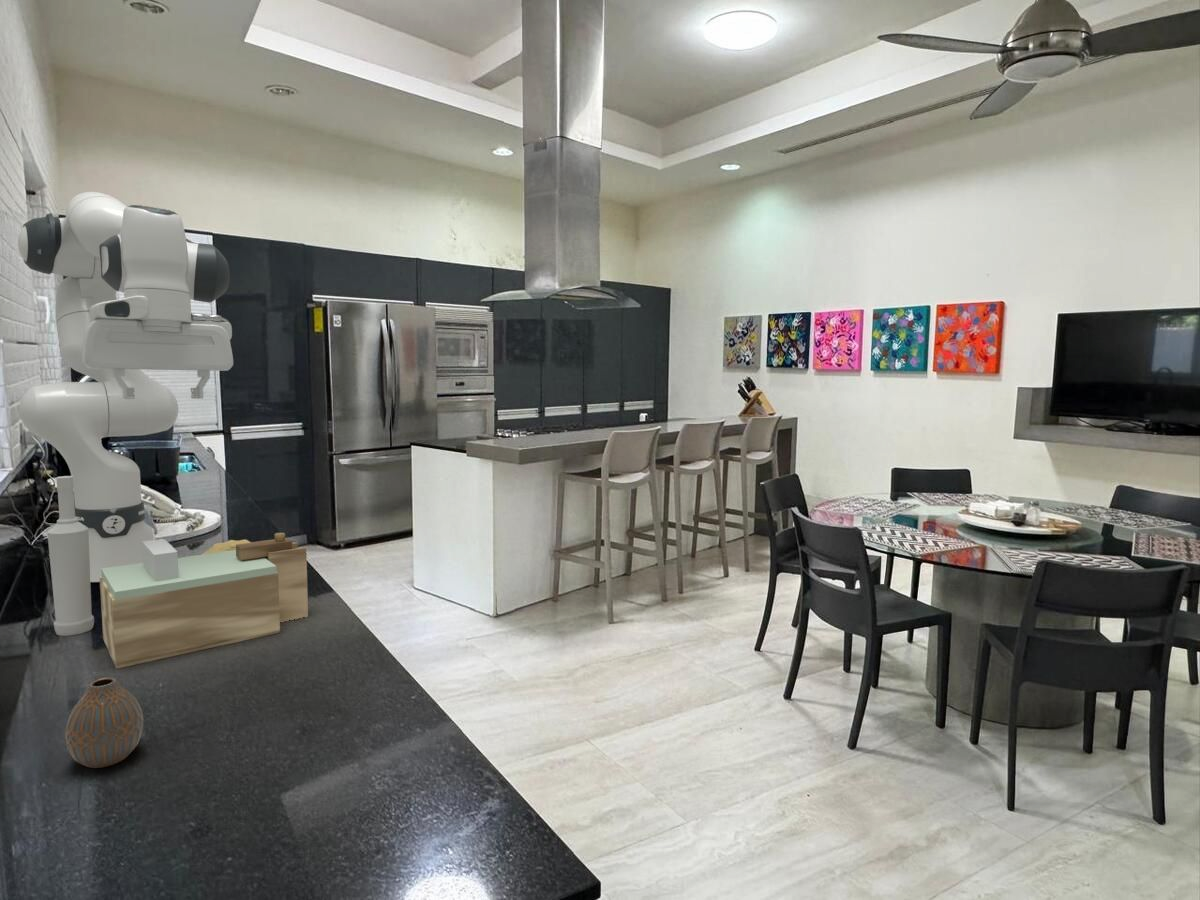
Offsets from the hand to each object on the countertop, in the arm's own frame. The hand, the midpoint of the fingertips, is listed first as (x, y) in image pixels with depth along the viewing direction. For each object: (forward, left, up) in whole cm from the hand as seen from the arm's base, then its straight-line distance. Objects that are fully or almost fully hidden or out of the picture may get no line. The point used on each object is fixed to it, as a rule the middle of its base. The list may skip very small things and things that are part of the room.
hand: (163, 398), depth 110 cm
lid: (+7, +1, -28) cm, 28 cm away
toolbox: (+7, +4, -38) cm, 38 cm away
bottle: (-7, -13, -38) cm, 40 cm away
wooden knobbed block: (+7, +12, -26) cm, 30 cm away
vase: (+40, -14, -38) cm, 57 cm away
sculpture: (-10, +11, -38) cm, 41 cm away
